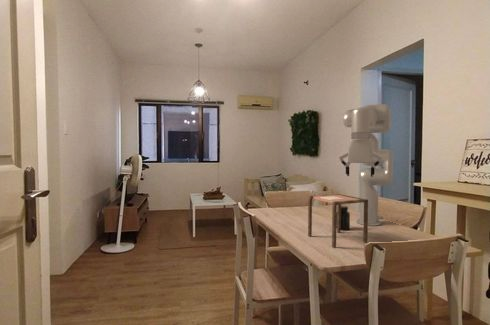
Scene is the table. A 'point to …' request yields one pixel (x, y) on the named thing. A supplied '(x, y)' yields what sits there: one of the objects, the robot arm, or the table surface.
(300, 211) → the table surface
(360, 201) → the stand
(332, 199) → the trapdoor
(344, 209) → the supplement bottle
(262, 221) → the table surface
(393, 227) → the table surface
